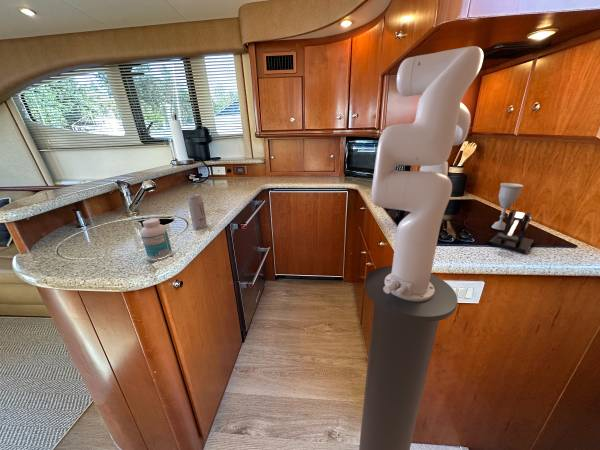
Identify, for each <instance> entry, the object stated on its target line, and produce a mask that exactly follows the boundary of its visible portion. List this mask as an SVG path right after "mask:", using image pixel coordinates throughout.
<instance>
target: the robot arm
mask: <svg viewBox="0 0 600 450" xmlns="http://www.w3.org/2000/svg"><path fill="white" fill-rule="evenodd" d="M483 61H484V51H483V50H482V48H481V47H479V46H476V45H475V46H474V45H471V46H465V47H460V48H453V49H448V50H441V51H438V52H433V53H427V54H420V55H415V56H410V57H407V58H405V59H404V60H402V61H401V63H400V66H399V67H398V70H397V74H396V89H397V92H398V93H399V95H400V96H401V97H413V96H420V97H419V99H418V101H417V106H416V113H415V119H414V121H413V122H412V123H411V122H410V123H397V124H396V123H395V124H391V125H389V126H387V127H385V128H384V129H383V131H382V132H381V134H380V136H379V139H378V143H377V149H376V156H375V162H374V168H373V169H374V171H373V177H372V184H371V193H370V194H371V195H370V196H371V197H370V198H371V202H372V204H373V205H374V206H376V207H378V208H382V209H391V210H397V211H398V210H399V211H405V212H409V213H408V215H405V217H403V218H402V219H401V220H400V221H399V223H398V224H397V227H396V233H395V242H394V248H393V258H392V265H391V266H392V273H391V274H389V275H387V276H386V278H385V282H384V284H385V286H384V287H383V290H384V292H385V293H387V294H388V293H390V292H391V293H392V294H393V295H395V296H397V297H399V298H402V299H404V300H408V301H416V302H420V301H426V300H429V299H431V298H432V297H433V295H434V291H435V289H434V286H433V285H432V284H431V283H430V282H429V281H430V276H431V274H432V271H433V267H434V266H433V265H434V260H435V255H436V250H437V245H438V240H439V235H440V231H441V227H442V223H441V222H442V218H443V219H444V215H445V213H446V209H447V207H448V204H449V202H450V199H451V195H452V192H453V183H452V180H451V179H450V177H448V173H449V163H448V160H449V158H450V156H451V153H452V150H453V146H460V145H461V144H463V143H464V142H465V141H466V139H467V137H468V134H469V130H470V127H471V120H472V119H471V118H472V117H471V112H470V111H469V109H468V107H467V106H466V105H465V104H464V103H463V102H462V101H463V99H464V97H465V95H466V93H467V91H468V90H469V88H470V87H471V85H472V84H473V82H474V81H475V79H476V78H477V76H478V74H479V72H480V70H481V68H482V65H483ZM398 166H416V167H417V166H418V167H420V168H419V170H418V171H417V170H410V171H409V170H407V171H406V170H395V169H396V167H398Z"/></svg>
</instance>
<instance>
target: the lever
mask: <svg viewBox="0 0 600 450" xmlns="http://www.w3.org/2000/svg"><path fill="white" fill-rule="evenodd" d="M525 215H526V212H521V211H516V214H515V216H514V220H513V223H512V227H511V229H510V231H509V233H508V234H507V235H504V234H499V235H498V239H501V240H506V241H510V242H514V243H518V241H519V238H517V237H513V236H512V235H514V233H515V231H516V230H517V227H518V226H519V224H522V223H523V220H524V217H525Z"/></svg>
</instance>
